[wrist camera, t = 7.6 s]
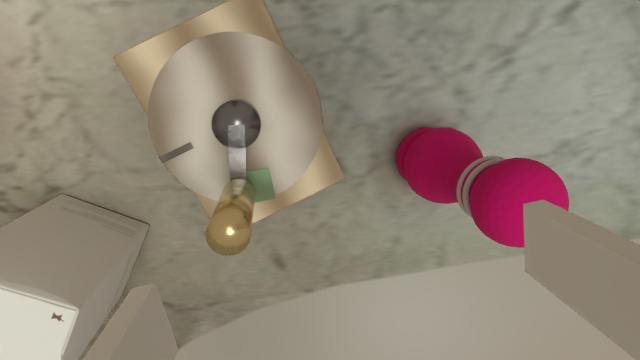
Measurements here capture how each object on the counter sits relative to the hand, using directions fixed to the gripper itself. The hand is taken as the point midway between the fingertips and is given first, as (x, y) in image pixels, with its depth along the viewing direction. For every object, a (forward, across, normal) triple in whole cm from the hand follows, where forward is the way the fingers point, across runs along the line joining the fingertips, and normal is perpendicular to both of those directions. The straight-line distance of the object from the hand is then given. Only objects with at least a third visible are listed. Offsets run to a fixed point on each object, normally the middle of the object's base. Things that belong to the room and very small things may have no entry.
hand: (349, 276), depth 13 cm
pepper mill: (+27, +12, -4) cm, 30 cm away
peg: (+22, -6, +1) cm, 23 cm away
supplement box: (+26, -23, -6) cm, 35 cm away
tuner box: (+26, -6, +4) cm, 27 cm away
